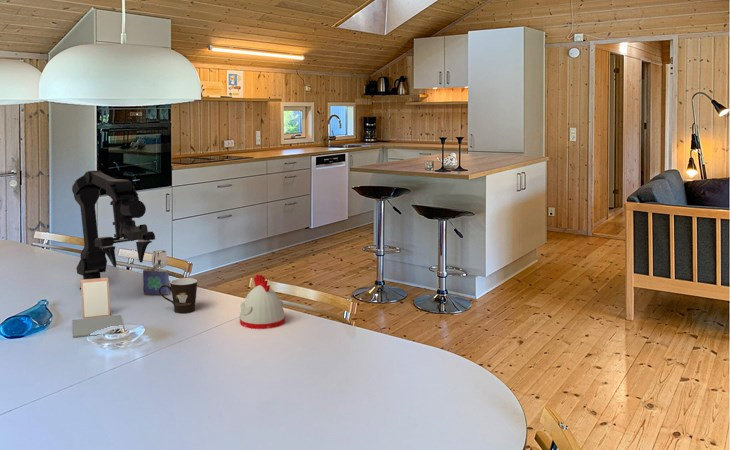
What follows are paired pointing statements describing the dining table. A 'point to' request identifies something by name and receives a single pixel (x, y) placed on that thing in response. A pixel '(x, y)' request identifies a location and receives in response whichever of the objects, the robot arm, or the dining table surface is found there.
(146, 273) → the flask
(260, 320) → the kitchen timer
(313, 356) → the dining table surface
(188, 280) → the coffee mug
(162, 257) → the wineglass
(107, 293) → the tile
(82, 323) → the mat
